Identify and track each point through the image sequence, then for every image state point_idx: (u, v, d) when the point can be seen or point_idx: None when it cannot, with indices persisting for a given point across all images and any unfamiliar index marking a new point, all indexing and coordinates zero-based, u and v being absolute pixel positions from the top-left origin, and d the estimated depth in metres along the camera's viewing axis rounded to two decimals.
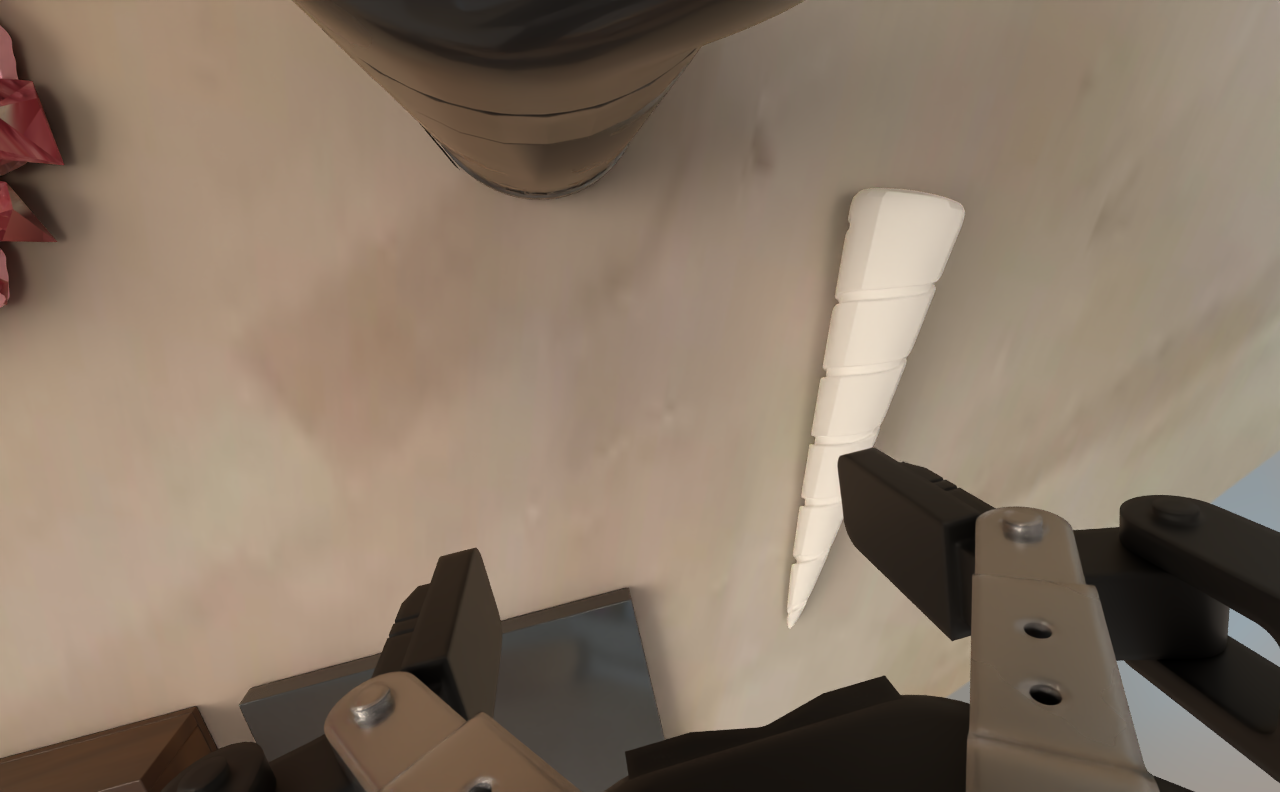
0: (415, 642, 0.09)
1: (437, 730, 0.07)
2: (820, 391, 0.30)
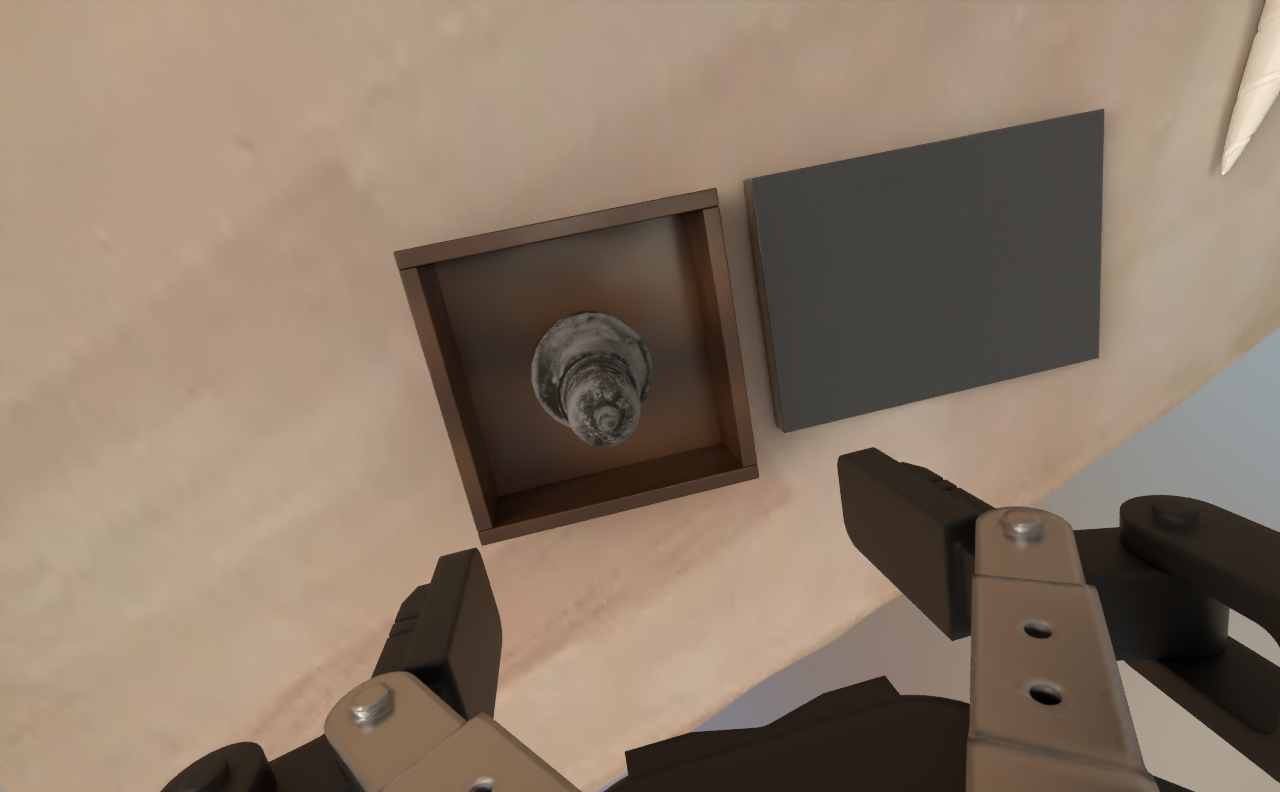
0: (415, 642, 0.09)
1: (437, 730, 0.07)
2: None
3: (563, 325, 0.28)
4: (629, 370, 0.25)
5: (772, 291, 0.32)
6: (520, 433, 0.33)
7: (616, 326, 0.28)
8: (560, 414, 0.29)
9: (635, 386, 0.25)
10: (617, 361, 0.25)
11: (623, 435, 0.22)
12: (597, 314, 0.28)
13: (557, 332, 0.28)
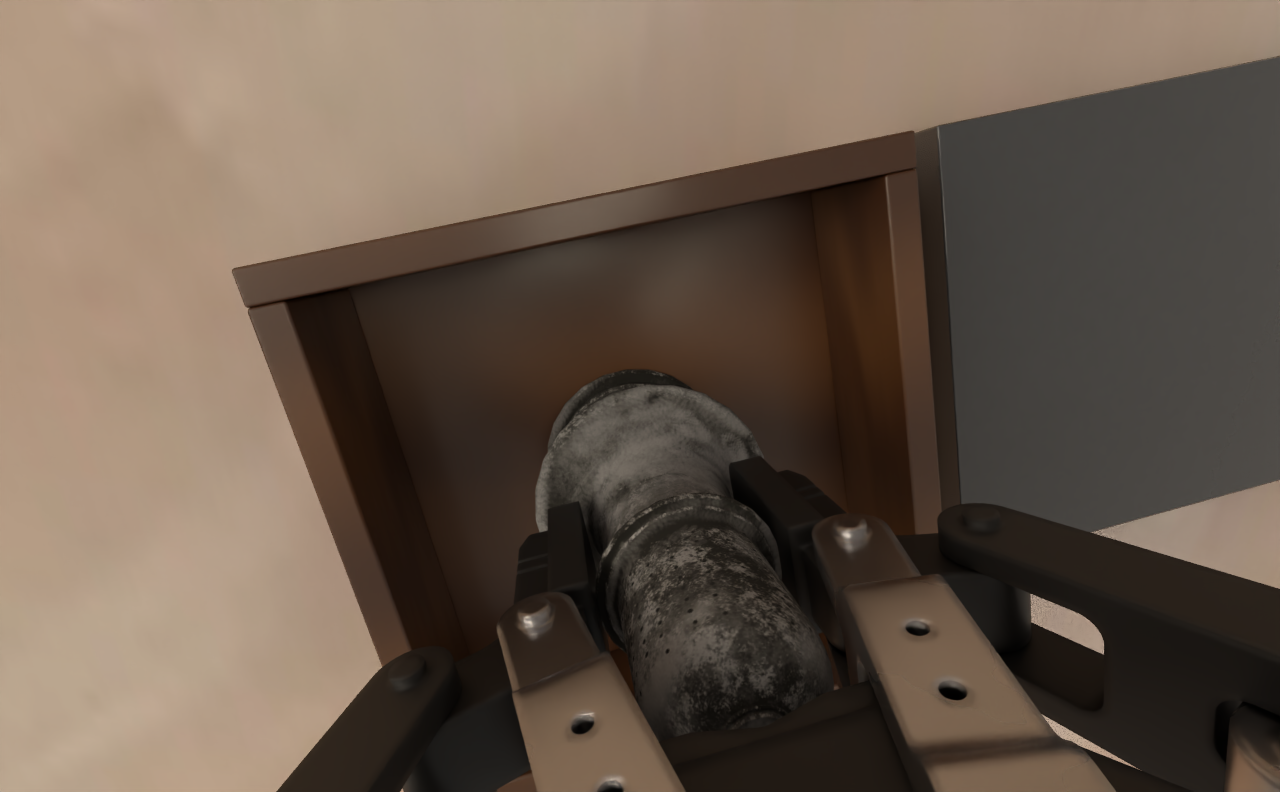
0: (553, 572, 0.10)
1: (576, 654, 0.08)
2: None
3: (599, 413, 0.14)
4: (761, 536, 0.11)
5: (961, 330, 0.18)
6: (515, 582, 0.19)
7: (703, 411, 0.14)
8: None
9: (773, 569, 0.11)
10: (735, 517, 0.11)
11: None
12: (666, 388, 0.14)
13: (587, 426, 0.14)
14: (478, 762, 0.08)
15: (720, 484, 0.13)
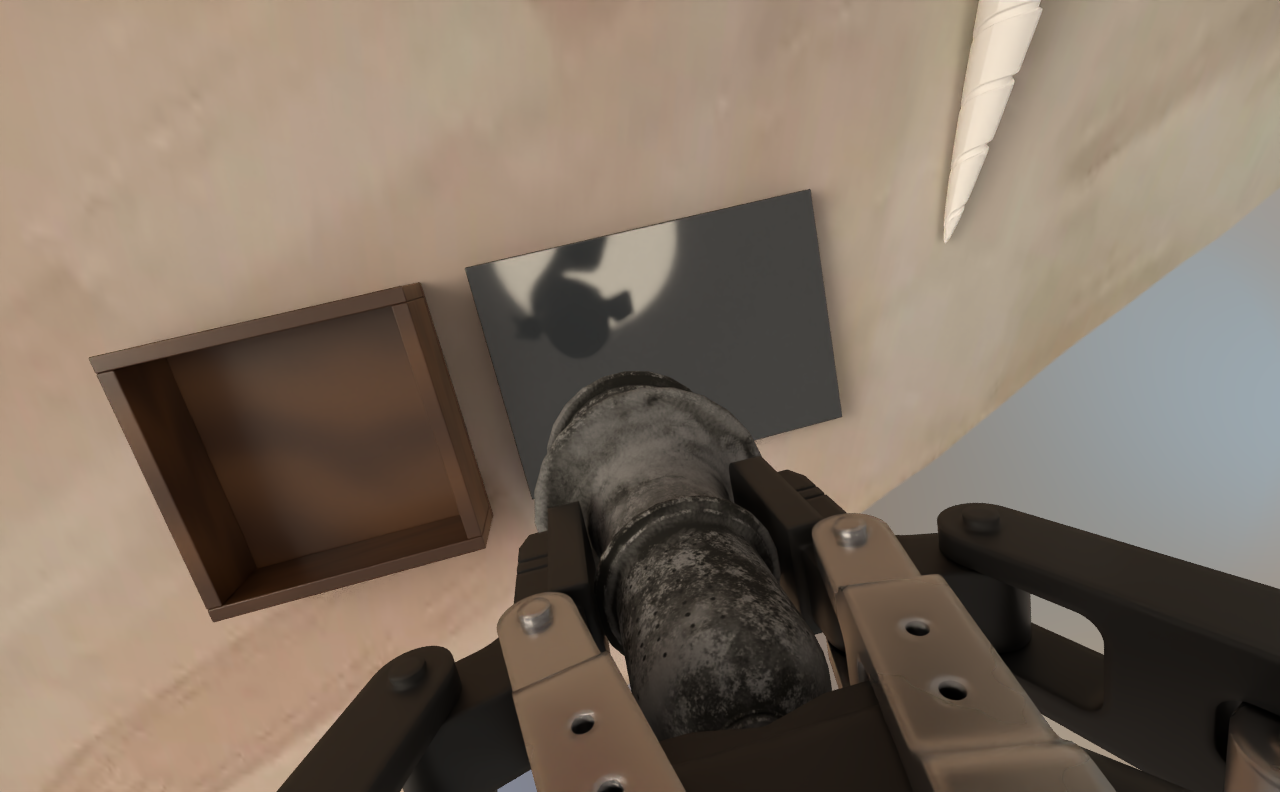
0: (553, 572, 0.10)
1: (576, 654, 0.08)
2: None
3: (598, 415, 0.14)
4: (759, 538, 0.11)
5: (501, 369, 0.34)
6: (271, 509, 0.34)
7: (702, 413, 0.14)
8: None
9: (772, 572, 0.11)
10: (734, 520, 0.11)
11: None
12: (665, 391, 0.14)
13: (586, 428, 0.14)
14: (478, 762, 0.08)
15: (719, 486, 0.13)
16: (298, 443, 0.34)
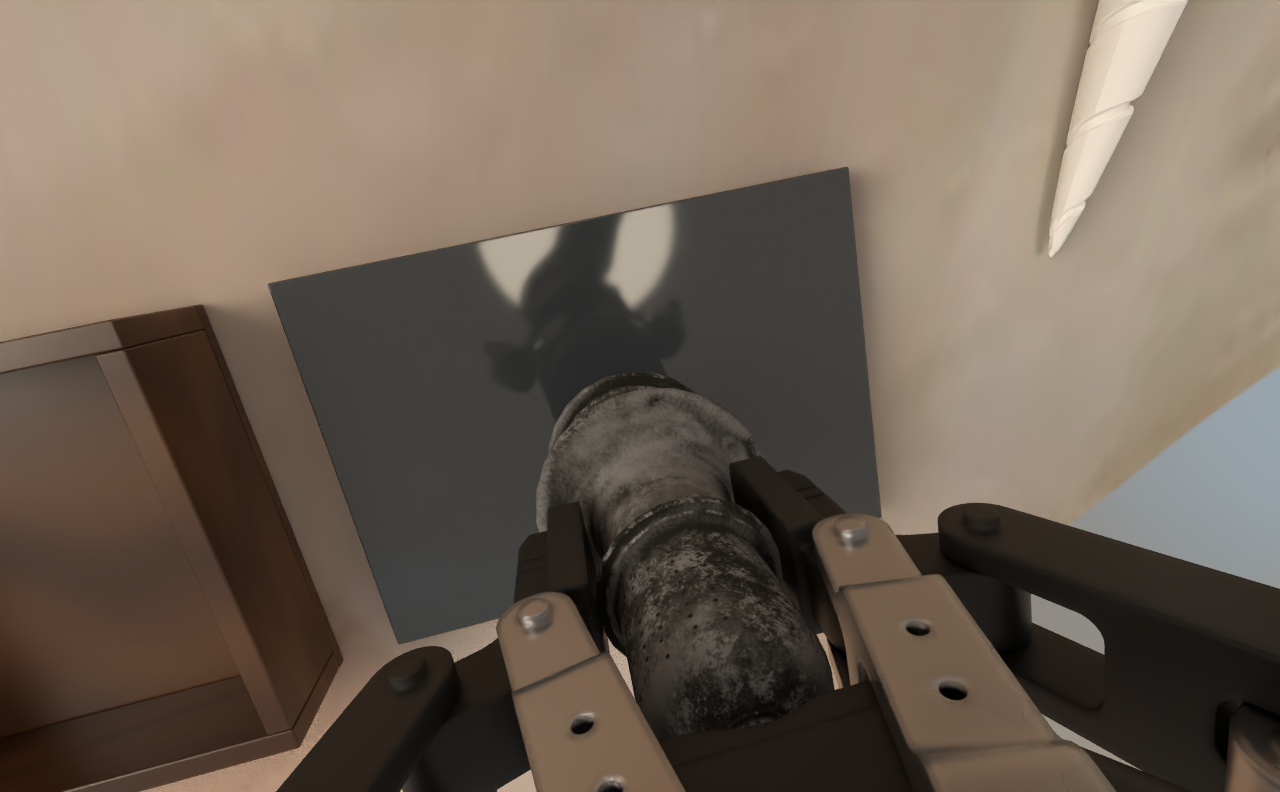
0: (553, 572, 0.10)
1: (576, 655, 0.08)
2: None
3: (600, 416, 0.14)
4: (762, 540, 0.11)
5: (337, 448, 0.21)
6: None
7: (704, 414, 0.14)
8: None
9: (774, 573, 0.11)
10: (736, 521, 0.11)
11: None
12: (667, 391, 0.14)
13: (587, 429, 0.14)
14: (477, 762, 0.08)
15: (721, 487, 0.13)
16: (6, 561, 0.21)
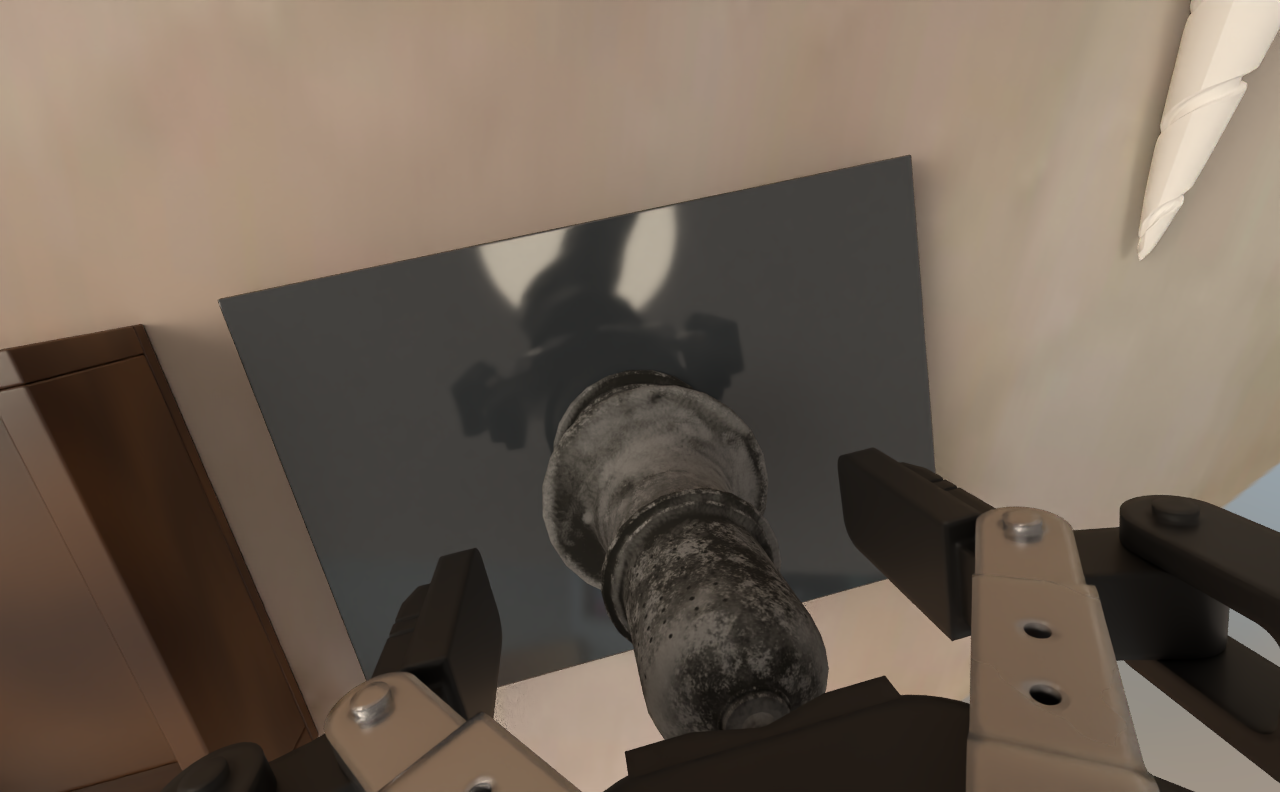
0: (415, 642, 0.09)
1: (437, 730, 0.07)
2: None
3: (604, 412, 0.14)
4: (760, 530, 0.11)
5: (306, 494, 0.17)
6: None
7: (704, 410, 0.15)
8: (597, 574, 0.15)
9: (772, 561, 0.12)
10: (735, 512, 0.11)
11: None
12: (668, 388, 0.15)
13: (592, 425, 0.14)
14: None
15: (721, 481, 0.14)
16: None
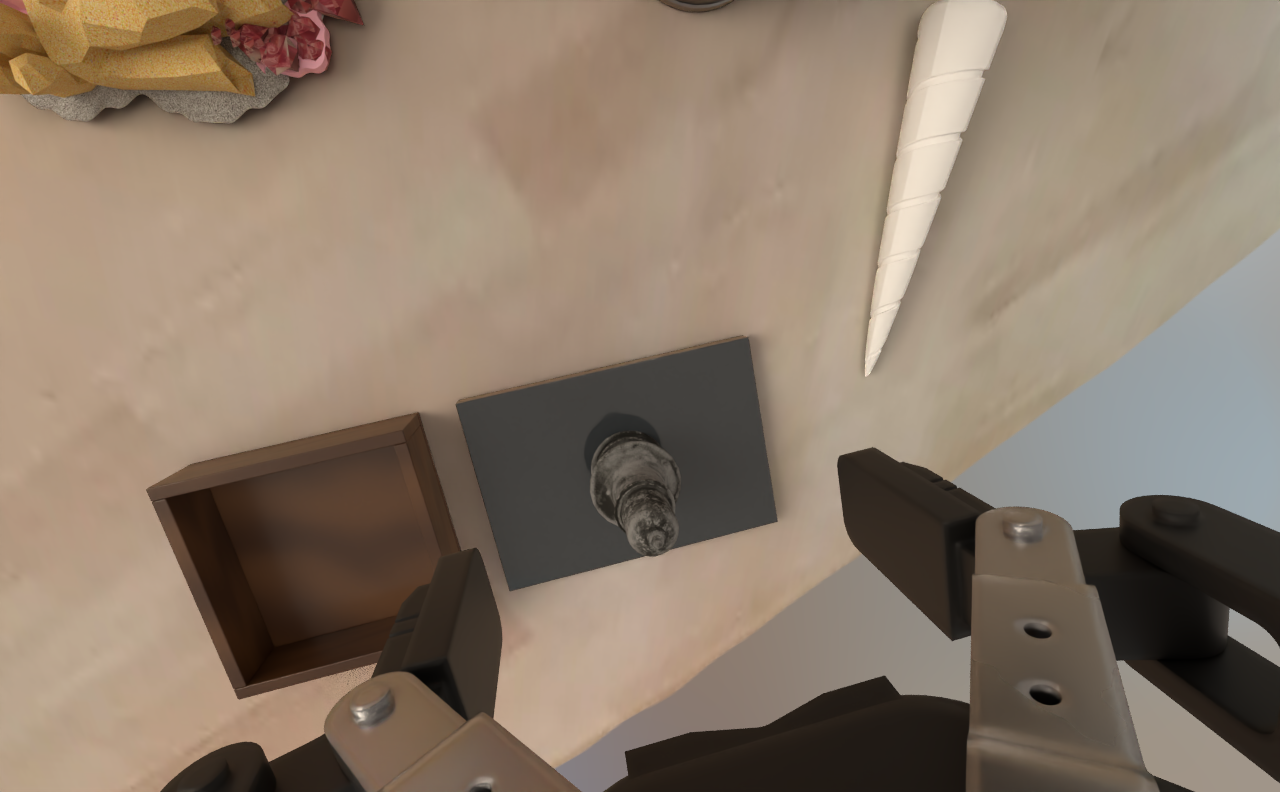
0: (415, 642, 0.09)
1: (437, 730, 0.07)
2: (895, 169, 0.39)
3: (614, 451, 0.37)
4: (667, 493, 0.34)
5: (484, 485, 0.40)
6: (288, 598, 0.41)
7: (654, 450, 0.37)
8: (611, 516, 0.38)
9: (671, 504, 0.34)
10: (658, 487, 0.34)
11: (667, 548, 0.31)
12: (639, 442, 0.37)
13: (609, 456, 0.37)
14: None
15: (658, 478, 0.36)
16: (312, 544, 0.40)
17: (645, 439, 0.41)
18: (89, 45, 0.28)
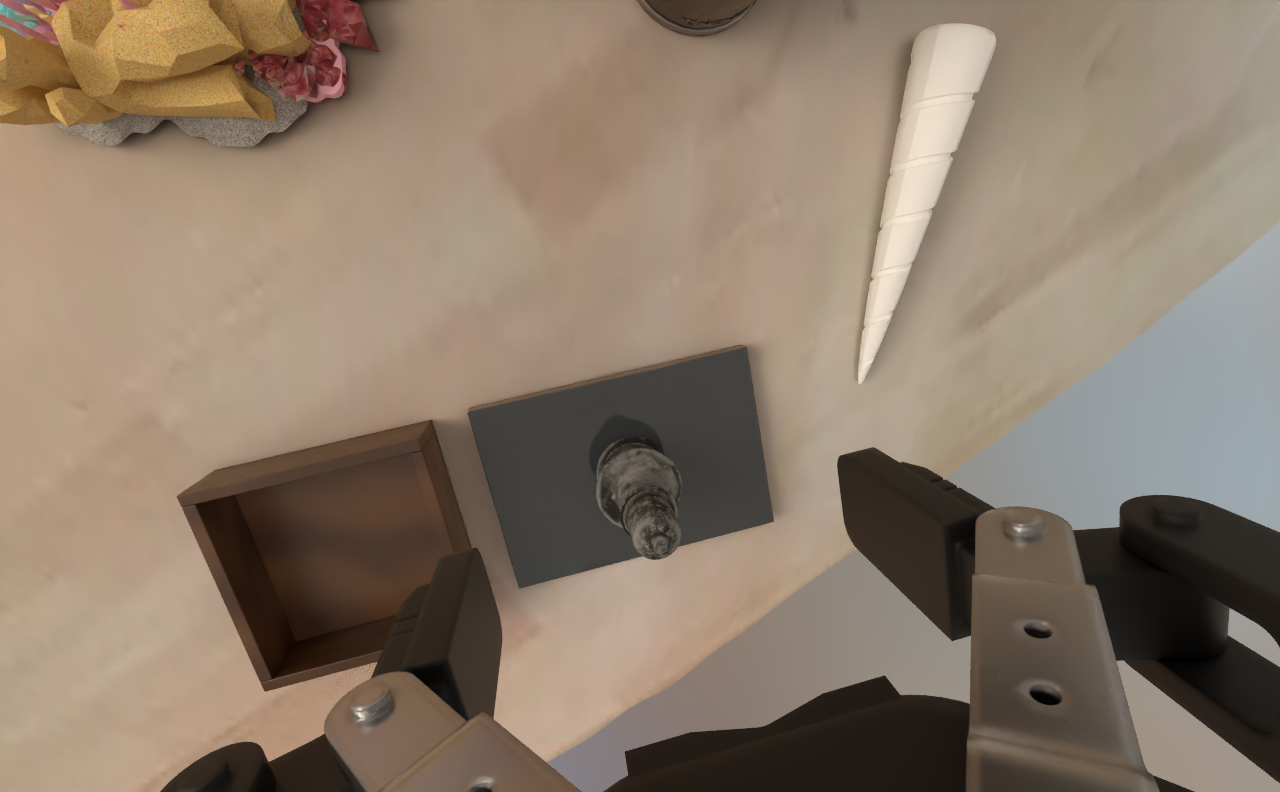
0: (415, 642, 0.09)
1: (437, 730, 0.07)
2: (888, 186, 0.41)
3: (619, 458, 0.39)
4: (669, 499, 0.36)
5: (495, 488, 0.42)
6: (308, 595, 0.43)
7: (656, 457, 0.39)
8: (616, 519, 0.40)
9: (674, 509, 0.36)
10: (661, 493, 0.36)
11: (670, 552, 0.33)
12: (643, 449, 0.39)
13: (615, 463, 0.39)
14: None
15: (661, 483, 0.38)
16: (331, 545, 0.42)
17: (648, 445, 0.43)
18: (120, 78, 0.30)
